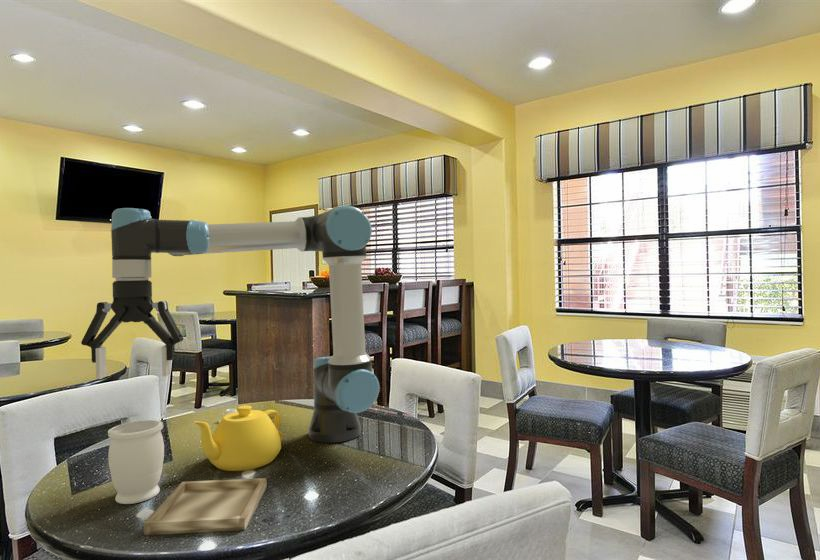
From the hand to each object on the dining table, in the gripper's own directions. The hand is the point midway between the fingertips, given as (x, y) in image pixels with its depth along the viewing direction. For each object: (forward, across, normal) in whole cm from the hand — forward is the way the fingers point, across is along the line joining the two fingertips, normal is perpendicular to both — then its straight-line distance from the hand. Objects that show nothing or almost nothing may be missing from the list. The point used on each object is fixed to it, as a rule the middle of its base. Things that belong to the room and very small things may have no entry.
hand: (134, 376), depth 108 cm
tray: (+25, -19, +12) cm, 34 cm away
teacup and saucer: (+26, -10, -49) cm, 56 cm away
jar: (+26, -2, +3) cm, 26 cm away
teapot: (+25, -19, -14) cm, 35 cm away
